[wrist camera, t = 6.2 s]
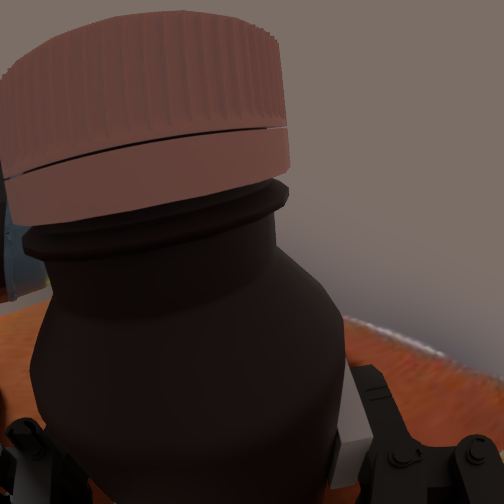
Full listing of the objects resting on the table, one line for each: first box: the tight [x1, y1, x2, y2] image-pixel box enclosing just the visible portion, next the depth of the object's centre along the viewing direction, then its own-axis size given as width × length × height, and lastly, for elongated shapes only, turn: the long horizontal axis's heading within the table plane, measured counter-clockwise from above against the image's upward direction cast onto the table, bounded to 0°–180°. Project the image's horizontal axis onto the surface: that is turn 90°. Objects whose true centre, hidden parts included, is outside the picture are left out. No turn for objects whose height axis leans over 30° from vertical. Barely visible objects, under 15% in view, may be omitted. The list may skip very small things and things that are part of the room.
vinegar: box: [0, 11, 346, 504], centre depth 8 cm, size 7×7×20 cm
